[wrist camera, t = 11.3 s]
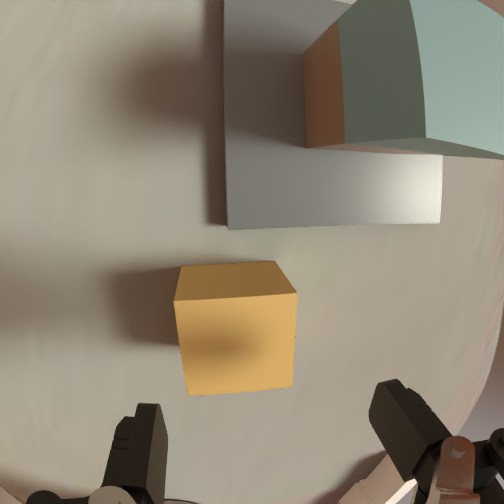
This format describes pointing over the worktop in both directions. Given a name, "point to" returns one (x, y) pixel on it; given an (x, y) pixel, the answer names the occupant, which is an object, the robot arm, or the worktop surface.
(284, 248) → the worktop surface
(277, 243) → the worktop surface
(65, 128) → the worktop surface
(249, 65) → the baseplate
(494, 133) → the teal block
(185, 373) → the ochre block
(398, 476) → the notched block
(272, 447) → the worktop surface
